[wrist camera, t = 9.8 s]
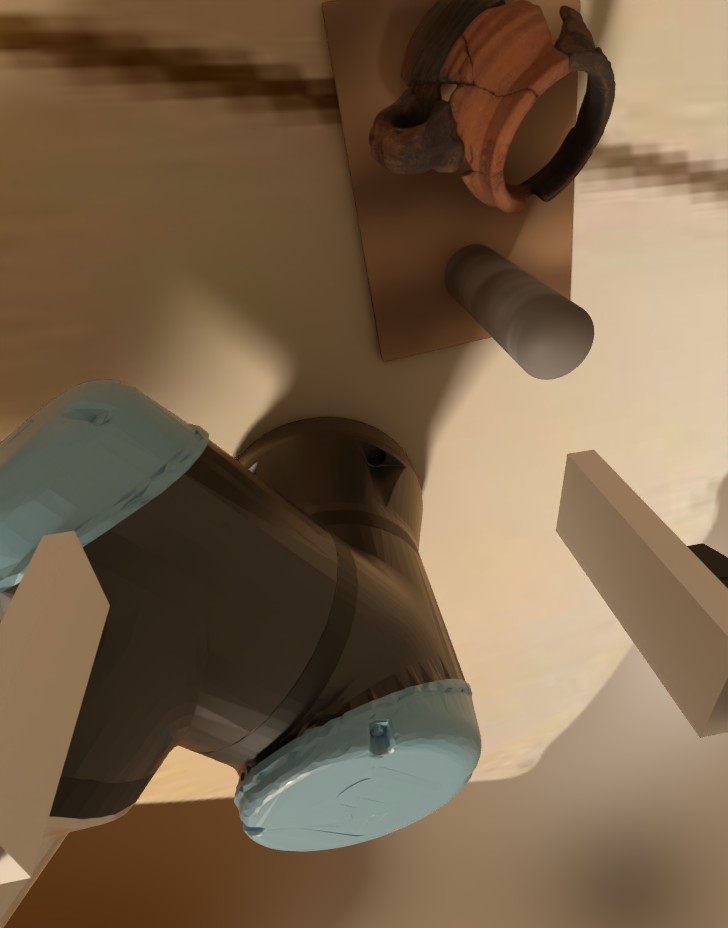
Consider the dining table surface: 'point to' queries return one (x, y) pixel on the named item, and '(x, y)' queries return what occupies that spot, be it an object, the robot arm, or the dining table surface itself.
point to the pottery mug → (490, 96)
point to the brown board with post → (457, 212)
